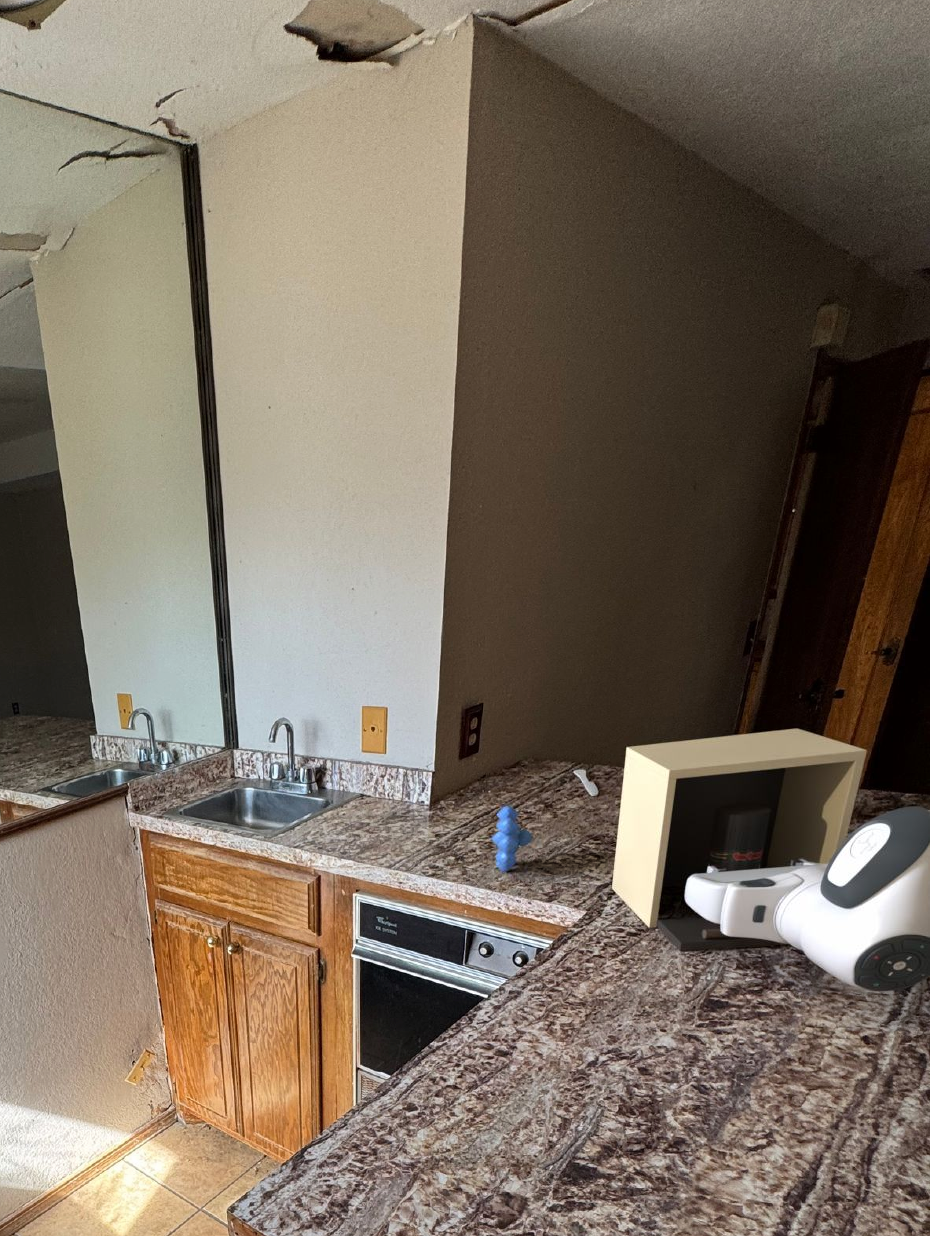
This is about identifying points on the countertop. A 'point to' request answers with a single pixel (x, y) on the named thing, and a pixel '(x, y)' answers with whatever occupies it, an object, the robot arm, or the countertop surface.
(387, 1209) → the countertop surface
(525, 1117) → the countertop surface
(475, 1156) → the countertop surface
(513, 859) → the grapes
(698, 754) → the cream cabinet
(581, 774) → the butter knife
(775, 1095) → the countertop surface
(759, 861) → the deodorant
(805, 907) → the robot arm
